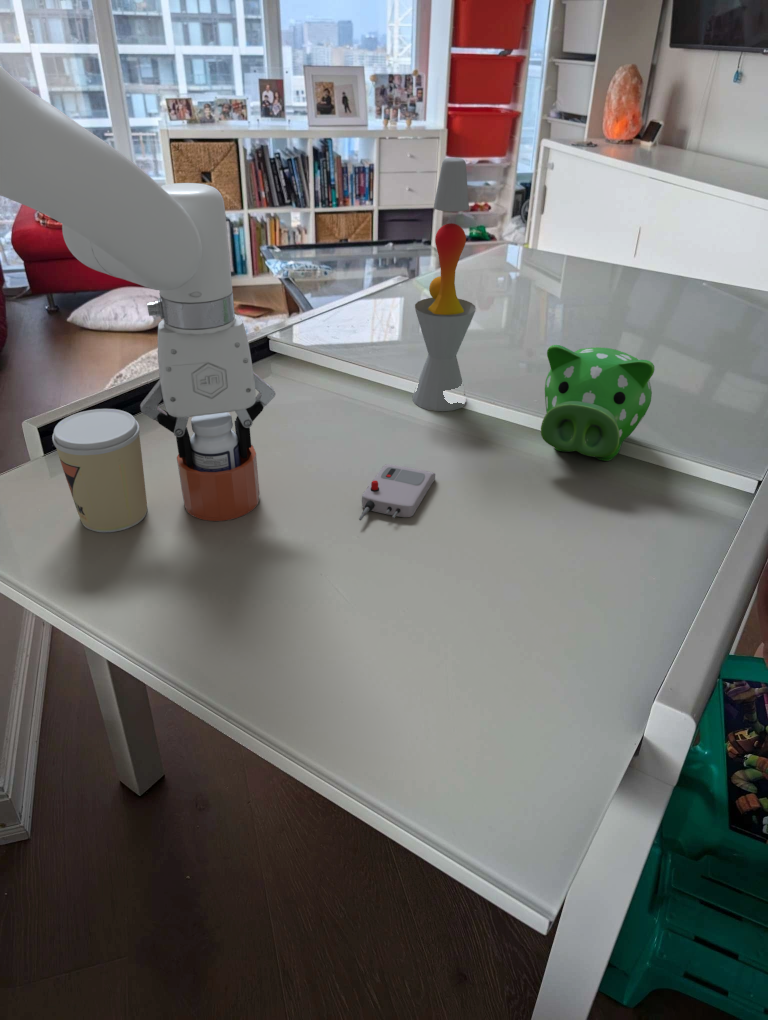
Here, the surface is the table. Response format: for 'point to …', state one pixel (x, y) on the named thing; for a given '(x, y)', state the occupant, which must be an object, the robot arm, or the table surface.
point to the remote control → (396, 491)
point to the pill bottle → (214, 443)
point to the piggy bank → (594, 399)
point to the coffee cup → (103, 467)
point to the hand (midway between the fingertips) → (215, 455)
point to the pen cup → (220, 489)
